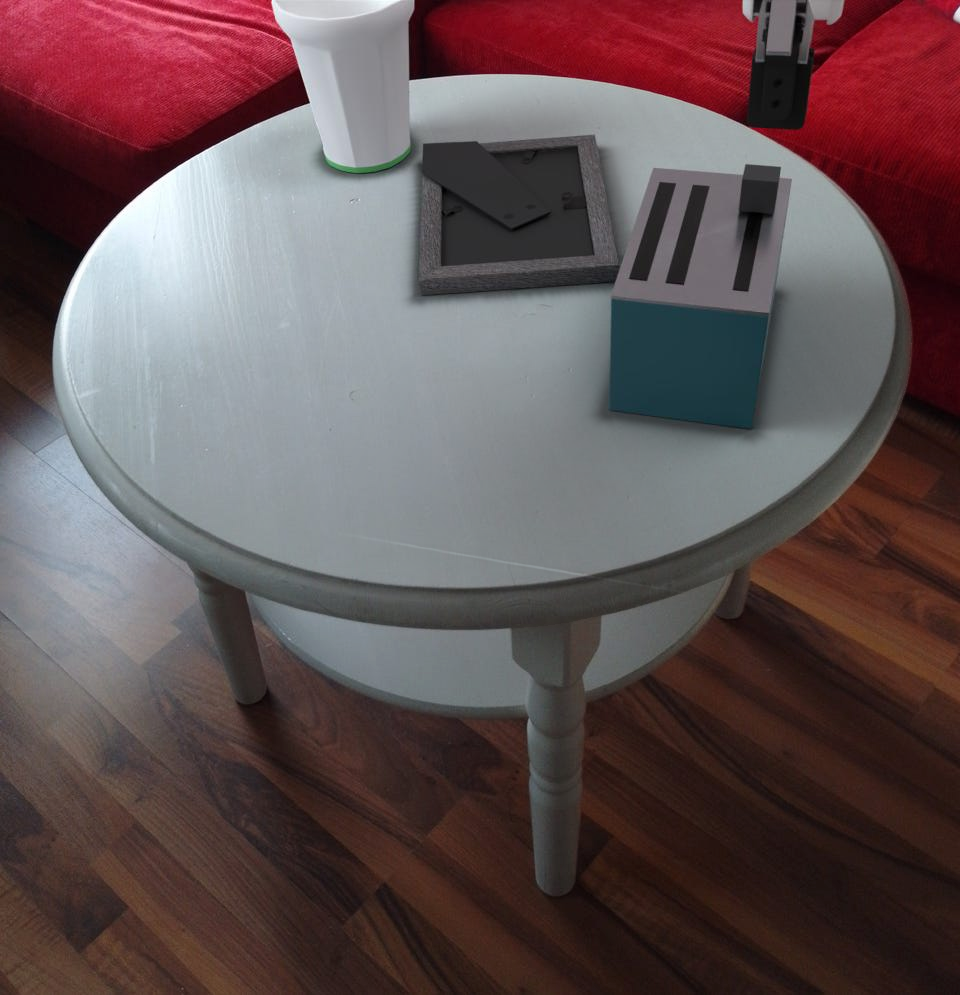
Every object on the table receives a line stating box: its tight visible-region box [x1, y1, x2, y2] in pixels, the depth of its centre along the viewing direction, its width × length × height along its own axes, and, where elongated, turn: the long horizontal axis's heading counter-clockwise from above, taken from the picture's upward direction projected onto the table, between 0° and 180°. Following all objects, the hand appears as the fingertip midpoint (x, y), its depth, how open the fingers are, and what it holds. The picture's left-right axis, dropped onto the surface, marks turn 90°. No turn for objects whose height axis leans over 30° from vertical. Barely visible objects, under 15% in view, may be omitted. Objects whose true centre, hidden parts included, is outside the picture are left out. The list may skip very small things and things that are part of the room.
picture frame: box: [418, 134, 620, 296], centre depth 95 cm, size 16×2×21 cm
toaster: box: [608, 167, 793, 430], centre depth 78 cm, size 10×16×10 cm, turn 164°
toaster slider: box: [739, 163, 782, 214], centre depth 75 cm, size 2×2×2 cm
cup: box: [271, 0, 415, 174], centre depth 100 cm, size 12×12×15 cm
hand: (776, 121), depth 63 cm, fingers closed
